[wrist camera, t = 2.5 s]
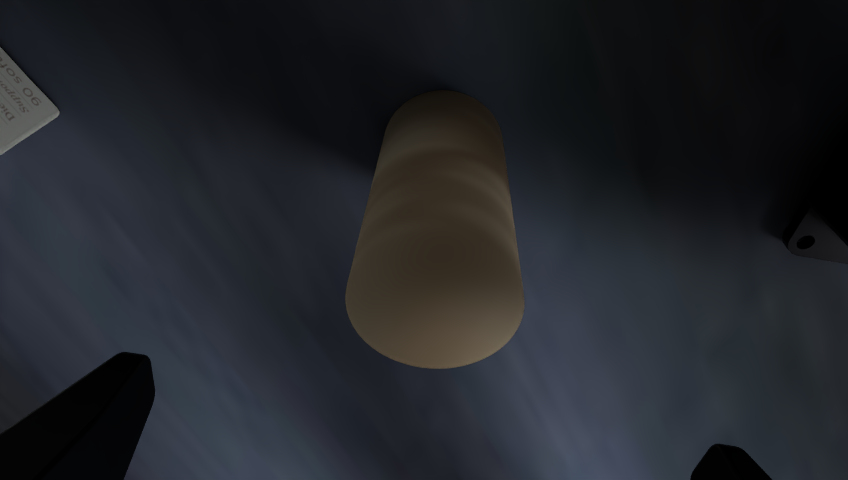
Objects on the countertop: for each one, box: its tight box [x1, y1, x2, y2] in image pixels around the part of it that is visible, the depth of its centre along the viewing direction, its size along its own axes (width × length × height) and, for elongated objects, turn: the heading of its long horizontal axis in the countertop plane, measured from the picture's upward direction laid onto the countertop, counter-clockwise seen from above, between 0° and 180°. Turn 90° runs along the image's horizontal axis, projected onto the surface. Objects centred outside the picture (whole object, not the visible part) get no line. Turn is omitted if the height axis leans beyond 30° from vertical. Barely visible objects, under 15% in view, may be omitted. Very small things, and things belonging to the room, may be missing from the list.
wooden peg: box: [345, 90, 524, 368], centre depth 14 cm, size 4×4×7 cm
